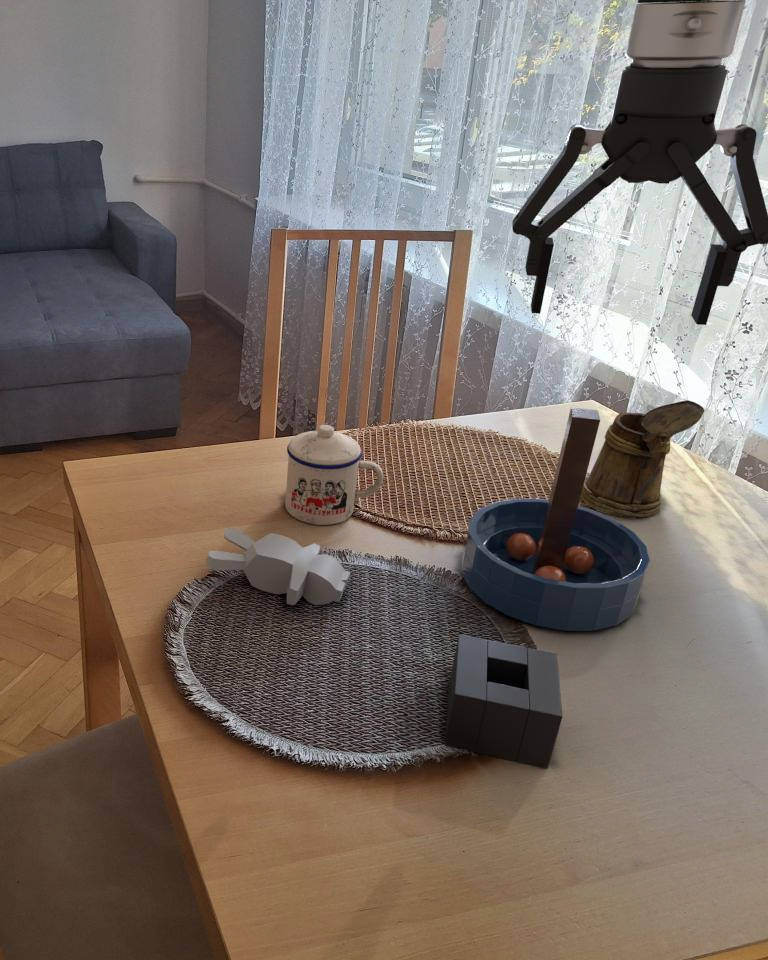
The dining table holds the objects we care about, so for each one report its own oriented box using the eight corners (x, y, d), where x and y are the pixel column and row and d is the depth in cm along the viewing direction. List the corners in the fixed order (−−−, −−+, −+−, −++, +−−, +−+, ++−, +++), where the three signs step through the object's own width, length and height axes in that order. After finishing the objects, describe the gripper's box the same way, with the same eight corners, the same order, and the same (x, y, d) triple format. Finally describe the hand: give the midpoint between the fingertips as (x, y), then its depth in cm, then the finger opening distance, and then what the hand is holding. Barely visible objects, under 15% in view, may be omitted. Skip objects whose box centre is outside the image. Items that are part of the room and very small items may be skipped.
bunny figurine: (338, 594, 88) (203, 548, 93) (328, 631, 91) (198, 584, 96) (359, 547, 96) (233, 507, 101) (349, 583, 98) (227, 542, 103)
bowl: (624, 556, 99) (637, 511, 97) (645, 650, 85) (661, 602, 82) (463, 531, 105) (471, 488, 102) (457, 616, 91) (466, 569, 88)
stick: (556, 573, 96) (598, 410, 86) (557, 585, 94) (600, 420, 84) (532, 569, 97) (570, 407, 87) (533, 581, 95) (572, 416, 85)
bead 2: (562, 603, 91) (573, 583, 93) (556, 580, 90) (566, 560, 91) (532, 599, 93) (543, 580, 95) (525, 576, 92) (536, 557, 94)
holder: (543, 703, 79) (557, 653, 76) (547, 769, 73) (562, 716, 70) (449, 683, 82) (458, 634, 79) (444, 745, 75) (454, 693, 72)
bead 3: (604, 569, 94) (591, 544, 93) (576, 583, 94) (564, 558, 94) (591, 561, 97) (579, 537, 96) (564, 574, 97) (552, 550, 97)
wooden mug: (605, 537, 103) (644, 400, 94) (570, 482, 115) (602, 355, 106) (685, 541, 102) (732, 402, 93) (642, 485, 113) (680, 357, 105)
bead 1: (538, 547, 99) (534, 526, 97) (537, 566, 97) (533, 544, 95) (508, 548, 101) (504, 528, 99) (507, 567, 98) (502, 546, 97)
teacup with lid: (280, 523, 108) (285, 440, 102) (285, 488, 116) (291, 409, 110) (379, 533, 105) (390, 448, 100) (377, 496, 113) (388, 416, 108)
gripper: (510, 68, 71) (471, 316, 81) (878, 62, 63) (783, 338, 73) (509, 62, 77) (473, 294, 87) (845, 56, 69) (761, 312, 79)
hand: (614, 314), depth 80 cm, fingers open, 13 cm apart
